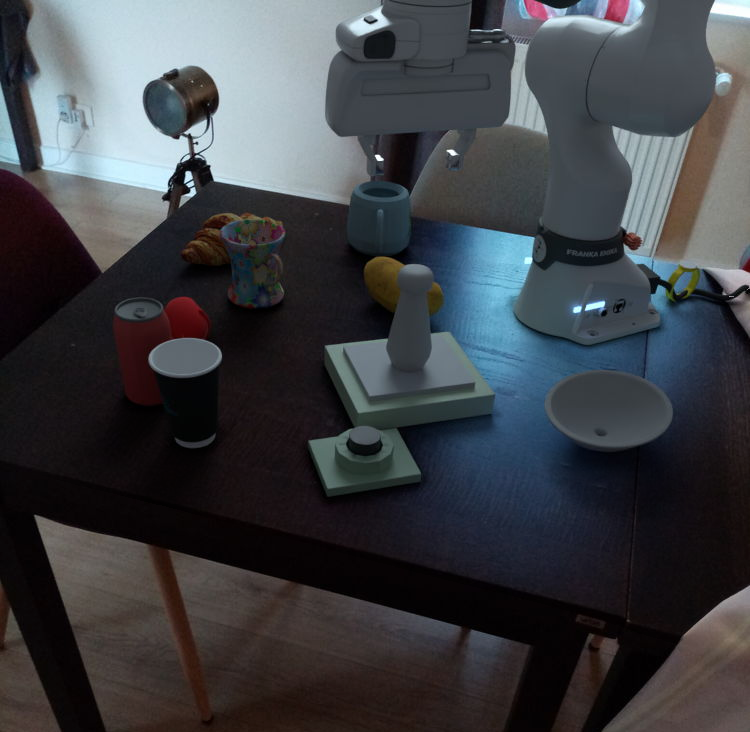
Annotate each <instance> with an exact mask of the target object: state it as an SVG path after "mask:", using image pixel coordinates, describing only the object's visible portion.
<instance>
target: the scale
mask: <svg viewBox="0 0 750 732" xmlns="http://www.w3.org/2000/svg"><path fill="white" fill-rule="evenodd" d="M387 341H388V338H380V339H373V340H371V339H370V340H362V341H354V342H345V343H336V344H328V345H324V366H325V369H326V370H327V371H326V372H327V373H328V375H329V377H330V379H331V381H332V383H333V386H334V387H335V390H336V392H337V394H338V396H339V398H340V400H341V402H342V404H343V406H344V408H345V410H346V412H347V415H348V417H349V419H350V421H351V423H352V426H353V428H355V427H358V426H370V427H373V428H375V429H377V430H386V429H393V428H403V427H410V426H417V425H424V424H430V423H437V422H443V421H444V422H445V421H450V420H452V421H453V420H457V419H458V420H459V419H464V418H465V419H466V418H472V417H479V416H486V415H493V410H494V404H495V400H496V392H494V391H493V389H492V387H491V386H490V385H489V384H488V382H487V381H486V379H485V378H484V377H483V375H482V374H481V372H479V369H477V367H476V366H475V365H474V363H473V362H472V360H471V359H470V358H469V356H468V355H467V354H466V353H465V351H464V349H463V348H462V346H461V345H460V344H459V342H458V341H457V340H456V338H455V337H454V336H453V334H452V333H451V332H450V331H442V332H433V333H431V343H432V350H431V354H430V357H429V359H428V360H427V362H426V363H425V365H424V367H423V368H422V369H419V370H417V371H415V372H406V371H399V370H397V369H396V368H395V367H394V365H393V364H392V363H391V361H390V358H389V356H388V353H387V351H386V344H387Z"/></svg>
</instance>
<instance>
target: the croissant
mask: <svg viewBox="0 0 750 732" xmlns="http://www.w3.org/2000/svg"><path fill="white" fill-rule="evenodd" d="M246 219H259V220H266V221H270V222H274V223H276V224H278V225H280V226H281V227H282V228H283V229H284V225H283V222H282V220H274V219H273V218H271V217H269V216H264V217H260V216H256V215H255V214H252V213H251V212H245V213H243V214H241V215H240V216H238V215H236V214H234V213H232V212H225V213H219V214H215V215H213V216H211V217H209V218H208V219H207V220H206V221H204V222H203V224H202V227H201V230H198V231H197V232H196V233H195V235H194V237H193V240H191V241H190V242H188V243H187V244H186V246H185V247H184V249H183V250H181V251H180V257H181V258H182V260H183V261H185V262H186V263H189V264H194V265H204V266H209V267H211V266H212V267H219V266H222V265H227V264H229V265H230V264H231V260H230V257H229V253H228V251H227V248H226V246H225V244H224V242H223V240H222V238H221V236H220V231H221V229H222V228H223V227H224V226H225V225H227V224H229V223H231V222H234V221H238V220H246Z"/></svg>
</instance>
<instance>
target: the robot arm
mask: <svg viewBox="0 0 750 732" xmlns="http://www.w3.org/2000/svg"><path fill="white" fill-rule="evenodd" d="M533 1H535V2H537V3H538V4H541V5H545V6H547V7H549V8H553V9H557V10H564V9H568V8H571V7H573V6H575V5H577V4H578V3H580V2H582V0H533ZM472 2H473V0H382V5H379V6H378V7H376V8H375V7H374V8H373V9H371V10H369V11H367V12H363V13H362V14H359V15H357V16H354V17H351V18H348V19H346V20H344V21H342V22H340V23H338V24H337V25H336V28H335V42H336V45H337V46H338V47H339V49H340V50H339V51H338V52H337V53H336V54H335V55H334V56H333V57H332V59H331V62H330V64H329V67H328V72H327V80H326V88H325V102H324V117H325V122H326V124H327V126H328V127H329V129H330V130H332V132H334V134H336V135H337V137H340V138H349V137H357V141H358V144H359V145H360V148H361V149H362V151H363V153H364V155H365V157H366V174H367V175H368V176H369V177H381V176H384V174H385V170H384V168H385V159H384V158H383V157H382V155H380V154H375V152H374V150H373V148H372V146H375V145H376V142H377V140H376V139H377V136H378V135H380V136H381V135H396V134H397V135H398V134H409V133H412V134H413V133H424V132H425V133H427V132H442V131H444V132H445V131H457V132H456V133H457V134H458V135H459V137H458V139H457V140H456V142H455V144H454V146H453V148H452V149H446V150H445V157H446V159H445V160H444V165H445V168H446V169H448V171H461V170H462V169H463V167H464V158H465V155H466V154H467V152H468V151H469V150H470V148H471V146H472V144H473V143H474V142H475V140H476V139H477V138H476V136H477V129H491V128H493V129H494V128H501V127H502V126H503V125H504V124H505V123H506V121H507V120H508V118H509V117H510V110H511V99H512V97H511V95H512V69H513V67H514V65H515V59H516V51H517V49H516V47H517V46H516V44H515V41H514V39H513V37H512V36H511V35H509V34H507V33H506V30H504V29H499V28H498V29H496V28H495V29H491V30H484V29H470V25H471V15H472V6H473V3H472ZM640 2H641V3H642V5H643V6H644V8H643V11H642V12H641V14H640V15H639V18H638V19H637V20H636V21H634V22H633V23H631V24H630V23H622V22H618V21H614V20H611V19H606V18H602V17H598V16H594V15H591V14H568V15H555V16H552V17H550V18H549V19H547V20H545V21H544V22H543V23H542V24H541V25H540V26H539V28H538V29H537V30H536V32H535V33H534V34H533V36H532V38H531V40H530V41H529V44H528V46H527V50H526V54H525V58H524V77H525V82H526V85H527V87H528V89H529V90H530V92H531V94H532V95H533V97H534V98H535V100H536V102H537V104H538V106H539V108H540V111H541V113H542V117H543V120H544V124H545V128H546V133H547V139H548V148H549V172H548V180H547V185H546V187H547V188H546V191H545V199H544V204H543V209H542V210H543V211H542V214H541V216H540V217H539V218H538V222H537V225H536V229H535V233H534V239H533V244H532V252H531V257H525V258H524V265H525V264H526V265H527V264H528V265H529V264H530V265H529V268H528V272H527V274H526V277H525V279H524V284H523V285H522V287H521V290H520V292H519V294H518V296H517V298H516V300H515V301H514V304H513V308H512V310H513V313H514V315H515V316H516V318H517V319H518V320H519V321H520V322H521V323H523V324H524V325H526V326H527V327H529V328H531V329H533V330H535V331H538V332H540V333H543V334H546V335H549V336H550V335H551V336H555V337H560V338H565V339H567V340H571V341H572V342H575V343H578V344H580V345H585V346H592V345H595V344H599V343H603V342H606V341H610V340H614V339H618V338H621V337H626V336H629V335H633V334H636V333H641V332H644V331H648V330H652V329H655V328H658V327H660V323H661V316H660V312H659V311H658V310H657V308H656V307H655V306H654V304H653V303H651V301H650V300H651V295H656V293H657V290H658V287H662V288H664V289H667V290H668V292H669V294H670V292H671V289H672V285H671V284H670V283H669V282H668V280H665V279H663V278H661V276H660V275H659V274H658V273H656V272H655V271H654V270H653V269H651V268H650V267H648V266H647V265H646V264H645V263H635V262H634V261H633V259H631V257H629V255H628V254H626V252H625V246H626V247H627V248H628V249H629V250H631V251H632V252H635V251H637V250H639V248H640V247H641V245H642V244H643V239H642V237H640V235H637V234H636V233H635V232H632V231H631V232H627V230H626V229H625V228H624V227H623V226H622V223H623V219H624V215H625V211H626V207H627V203H628V201H629V196H630V193H631V189H632V185H633V172H632V168H631V165H630V163H629V161H628V160H627V158H626V156H624V154H623V153H622V152H621V150H620V148H619V147H618V143H617V142H616V139H615V133H614V128H617V129H621V130H624V131H627V132H630V133H633V134H636V135H639V136H646V137H647V136H649V137H657V138H658V137H661V138H677V137H680V136H682V135H684V134H685V133H687V132H688V131H689V130H691V129H692V128H693V127H694V126H695V125H697V124H698V123H699V121H700V120H702V118H703V116H704V115H705V113H707V110H708V109H709V107H710V105H711V102H712V100H713V97H714V94H715V89H716V84H717V83H716V82H717V70H716V65H715V61H714V58H713V56H712V54H711V52H710V49H709V46H708V42H707V25H708V21H709V17H710V13H711V11H712V9H713V6H714V4H715V2H716V0H640ZM613 127H614V128H613ZM749 286H750V285H748V284H743V285H740V286H739V287H738V288H737V289H736V290H734V291H733V292H731V293H728V294H719V293H716V292H712V291H709V290H706V289H702V288H697V287H695V289H694V290H693V292H692V293H691V294H690V295H695V296H701V297H704V298H706V299H709V300H714V301H719V302H727V301H728V302H729V301H732V300H734V299H737V298H738V297H739V296H741V295H743V293H744V292H745V293H746V294H750V289H748V288H749ZM747 289H748V290H747ZM683 290H684V289H683ZM683 290H682V291H683ZM682 291H681V292H679V293H680V294H679V293H677V292H676V291H675V288H674V289H673V294H672V295H673V299H674V300H675V302H679V301H681V300H683V299H682V298H683V297H685V296H686V295H687V293H688V290H684V291H683V292H682ZM677 294H678V295H677ZM690 295H689V296H690ZM729 296H734V297H729Z"/></svg>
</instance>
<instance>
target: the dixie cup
mask: <svg viewBox="0 0 750 732" xmlns="http://www.w3.org/2000/svg"><path fill="white" fill-rule="evenodd" d="M222 359H223V354H222V351H221V349H220V348H219V347H218V346H217V345H216V344H215V343H213V342H211V341H209V340H206V341H205V340H202V339H196V338H181V339H174V340H170V341H167V342H164V343H162V344H160V345H158V346H157V347H156V348H154V349H153V350H152V351H151V353H150V355H149V358H148V361H149V364H150V366H151V368H152V369H153V371H154V374H155V378H156V381H157V385H158V388H159V391H160V395H161V398H162V402H163V404H162V405H163V408H164V412H165V416H166V419H167V422H168V426H169V429H170V433H171V435H172V436H173V438H174V440H175V442H176V444H178V445H179V446H181V447H184V448H188V449H197V448H203V447H206V446H208V445H209V444H212V442H213V441H214V440H215V438H216V433H217V431H218V425H219V424H218V421H219V394H220V392H219V391H220V390H219V389H220V388H219V387H220V365H221V362H222Z"/></svg>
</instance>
